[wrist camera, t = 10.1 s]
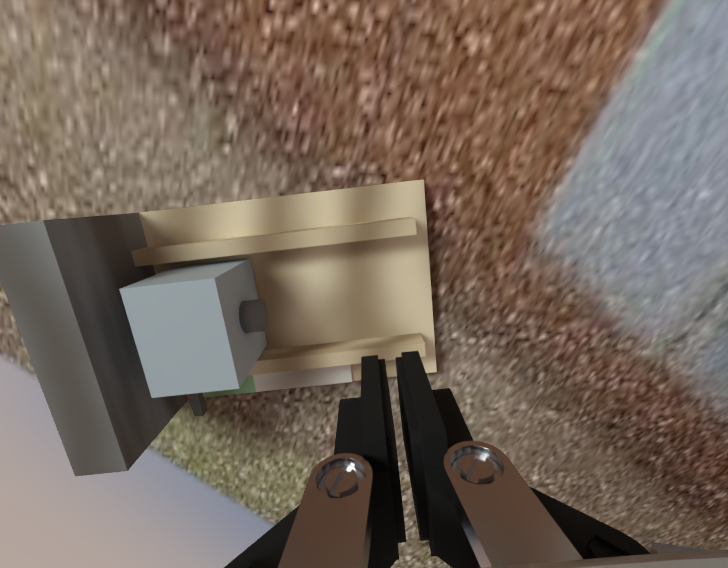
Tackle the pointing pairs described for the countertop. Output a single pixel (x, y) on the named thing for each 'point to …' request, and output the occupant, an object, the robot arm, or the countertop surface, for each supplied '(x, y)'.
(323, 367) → the board
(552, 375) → the countertop surface
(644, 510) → the countertop surface
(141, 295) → the grey cube with peg
